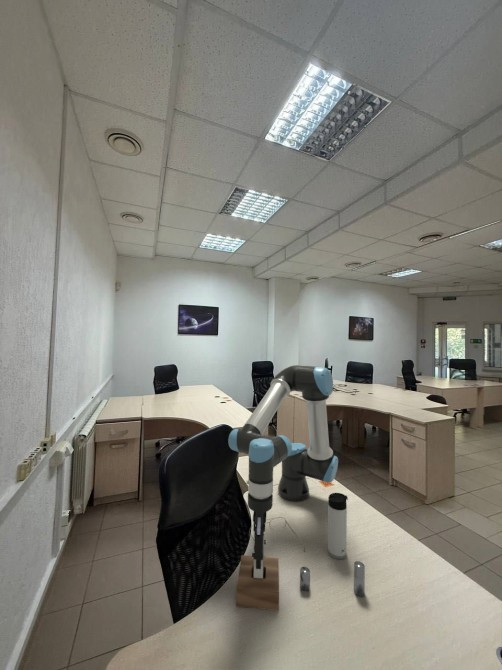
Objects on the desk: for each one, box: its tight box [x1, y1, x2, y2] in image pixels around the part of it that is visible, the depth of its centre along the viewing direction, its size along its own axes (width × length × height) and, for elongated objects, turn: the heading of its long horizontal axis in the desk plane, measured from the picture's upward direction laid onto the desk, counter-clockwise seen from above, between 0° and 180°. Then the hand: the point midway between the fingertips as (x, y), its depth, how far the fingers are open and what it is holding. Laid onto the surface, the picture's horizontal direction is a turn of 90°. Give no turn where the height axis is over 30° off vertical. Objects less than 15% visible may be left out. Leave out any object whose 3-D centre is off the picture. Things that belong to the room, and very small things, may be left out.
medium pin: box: [353, 560, 366, 598], centre depth 82 cm, size 3×3×8 cm
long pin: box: [261, 532, 265, 579], centre depth 83 cm, size 3×3×13 cm
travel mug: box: [327, 492, 349, 560], centre depth 98 cm, size 6×7×20 cm
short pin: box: [299, 566, 311, 593], centre depth 84 cm, size 3×3×5 cm
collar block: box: [235, 554, 280, 611], centre depth 83 cm, size 12×12×5 cm
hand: (258, 572), depth 83 cm, fingers closed on long pin, 3 cm apart
